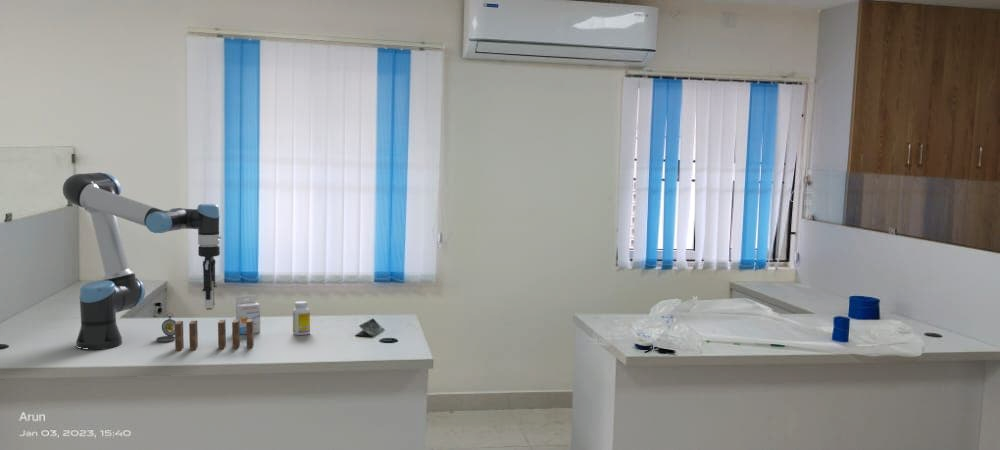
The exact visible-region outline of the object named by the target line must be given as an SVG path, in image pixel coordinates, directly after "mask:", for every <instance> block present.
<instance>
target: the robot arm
mask: <svg viewBox="0 0 1000 450" xmlns="http://www.w3.org/2000/svg"><path fill="white" fill-rule="evenodd" d="M121 190H122V188H121V184H120V182H119V181H118V179H117V178H116V177H115V176H113V175H112V174H109V173H107V172H93V173H91V172H90V173H89V172H88V173H76V174H73V175H71V176H69V177H68V178H66V179H65V181H64V182H63V185H62V194H63V197H64V198H65V200H67V202H69V203H70V204H71V205H75V206H77V207H81V208H83V209H84V211H86V213H89V214H90V217H91V220H92V225H93V228H94V229H93V230H94V232H95V233H94V234H95V237H96V241H97V242H96V243H97V246H98V249H99V253H100V257H101V262H102V266H103V271H104V276H103V278H102V279H101V280H97V281H91V282H88V283H86V284H85V283H84V285H82V286H81V288H80V292H79V305H80V307H79V308H80V328H79V333H78V335H77V337H76V342H75V343H76V347H77V346H78V347H81V348H88V349H98V350H103V349H102V348H107V349H111V347H112V348H116V347H118V346H120V345H122V343H123V339H122V338H123V337H122V334H121V332H120V330H119V327H118V324H117V313H120V312H124V311H127V310H132V309H133V308H136V307H137V306H139V305H140V304H141V303H142V302H143V300H144V298H145V297H146V289H145V285H144V283H143V282H142V281H141V280H140V279H139V278H137V277H136V274H135V272H134V271H132V269H130V268H129V262H128V258H127V255H126V251H125V247H124V242H123V238H122V233H121V230H120V226H119V222H118V221H119V220H118V218H121V219H124V220H127V221H129V222H132V223H135V224H138V225H141V226H144V227H146V228H147V229H148V230H149V232H151V233H153V234H154V233H155V234H164V233H168V232H173V231H179V230H186V229H187V230H191V229H192V230H197V243H198V247H197V248H198V250H197V251H198V256H199V257H200V258H201V257H204V261H202V268H203V271H202V274H203V289H202V292H204V309H206V308H213V309H214V307H213V295H212V281H213V285H214V306H215V305H216V295H215V294H216V292H215V291H216V288H217V287H218V286H217V283H216V259H215V258H214V257H218V256H220V254H221V253H220V252H221V249H220V248H221V247H220V245H219V244H220V240H221V239H222V236H220V209H219V206H218V204H215V203H208V204H207V203H203V204H202V203H201V204H198V205H197V209H196V208H182V207H179V208H171V209H169V210H163V209H160V208H157V207H154V206H151V205H148V204H146V203H142V202H140V201H137V200H134V199H131V198H128V197H126V196H122V195H121V192H122V191H121ZM117 217H118V218H117Z"/></svg>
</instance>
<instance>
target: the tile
mask: <svg viewBox="0 0 1000 450" xmlns="http://www.w3.org/2000/svg"><path fill="white" fill-rule="evenodd" d="M214 288H215V287H214V285H213V281H212V295H213V308H205V310H207V311H209V310H210V311H212V310H213V309H214V308H215V307H214V306H215V305H214Z"/></svg>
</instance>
